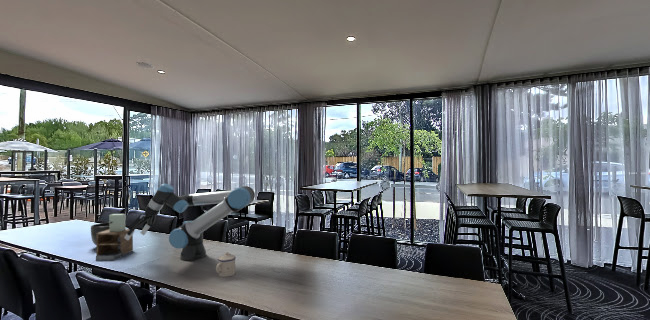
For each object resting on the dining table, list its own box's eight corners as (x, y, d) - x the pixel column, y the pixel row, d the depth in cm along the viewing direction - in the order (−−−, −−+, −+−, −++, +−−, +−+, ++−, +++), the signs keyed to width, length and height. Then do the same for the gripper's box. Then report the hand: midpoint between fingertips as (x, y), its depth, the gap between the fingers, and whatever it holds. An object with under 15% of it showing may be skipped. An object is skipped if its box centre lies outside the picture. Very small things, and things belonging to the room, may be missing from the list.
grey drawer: (123, 255, 195) (123, 237, 195) (113, 260, 187) (113, 240, 187) (106, 256, 195) (106, 237, 195) (96, 260, 187) (95, 240, 187)
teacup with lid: (227, 269, 168) (226, 249, 168) (239, 272, 164) (239, 251, 164) (210, 277, 157) (209, 255, 157) (222, 280, 153) (222, 257, 153)
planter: (84, 248, 213) (84, 226, 213) (108, 242, 229) (108, 221, 229) (102, 250, 208) (102, 227, 208) (125, 243, 224) (125, 222, 224)
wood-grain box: (132, 250, 207) (132, 228, 207) (120, 256, 195) (120, 233, 195) (109, 250, 207) (109, 229, 207) (96, 256, 195) (96, 233, 195)
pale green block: (125, 229, 204) (125, 213, 204) (120, 231, 199) (120, 215, 199) (113, 230, 204) (113, 213, 204) (108, 231, 199) (108, 215, 199)
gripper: (161, 201, 192) (143, 228, 192) (134, 206, 167) (113, 237, 167) (171, 208, 191) (152, 235, 191) (145, 213, 166) (124, 245, 167)
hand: (134, 236), depth 179 cm, fingers open, 13 cm apart
